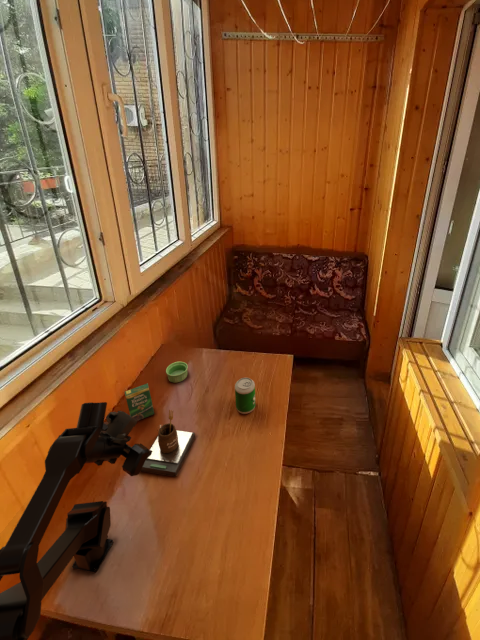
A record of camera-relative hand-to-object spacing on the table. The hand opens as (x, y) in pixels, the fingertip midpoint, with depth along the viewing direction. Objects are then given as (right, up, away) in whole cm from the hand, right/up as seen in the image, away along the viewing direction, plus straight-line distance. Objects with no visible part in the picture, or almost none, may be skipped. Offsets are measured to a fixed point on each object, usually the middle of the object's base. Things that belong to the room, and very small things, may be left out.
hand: (140, 445), depth 90 cm
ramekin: (-5, +2, +46) cm, 46 cm away
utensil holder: (+4, -8, +12) cm, 15 cm away
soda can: (+27, -4, +30) cm, 40 cm away
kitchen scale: (+4, -10, +12) cm, 16 cm away
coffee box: (-12, -5, +26) cm, 29 cm away
